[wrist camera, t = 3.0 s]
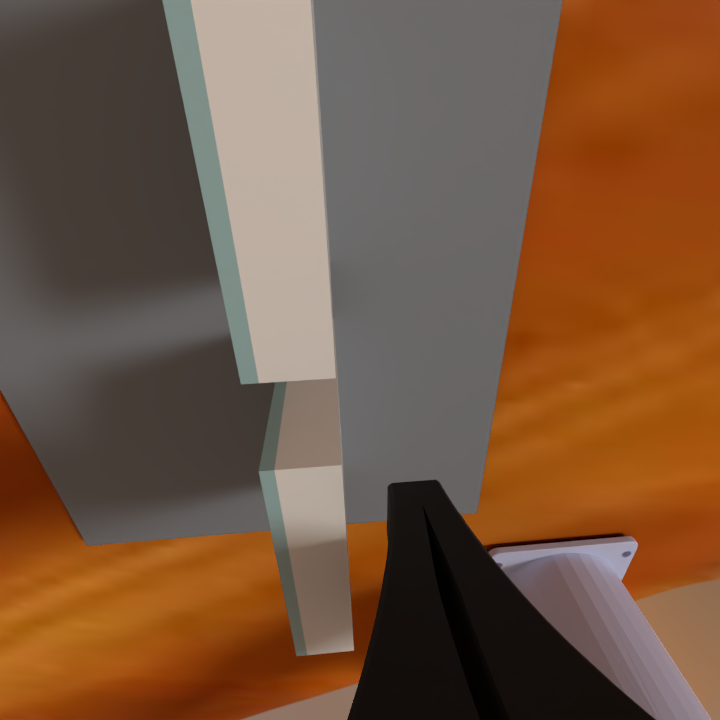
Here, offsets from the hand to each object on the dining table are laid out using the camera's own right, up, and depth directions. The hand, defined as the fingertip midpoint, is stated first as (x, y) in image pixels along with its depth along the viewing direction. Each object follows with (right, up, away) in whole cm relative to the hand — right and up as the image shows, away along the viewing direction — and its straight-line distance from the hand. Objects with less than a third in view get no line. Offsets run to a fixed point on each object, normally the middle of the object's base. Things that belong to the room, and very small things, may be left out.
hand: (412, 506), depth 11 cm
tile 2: (-3, +10, 0) cm, 11 cm away
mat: (-5, +6, +2) cm, 9 cm away
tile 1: (-3, +2, +4) cm, 6 cm away
